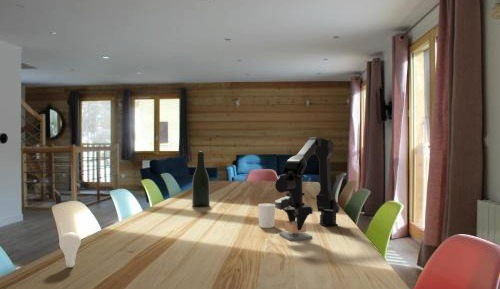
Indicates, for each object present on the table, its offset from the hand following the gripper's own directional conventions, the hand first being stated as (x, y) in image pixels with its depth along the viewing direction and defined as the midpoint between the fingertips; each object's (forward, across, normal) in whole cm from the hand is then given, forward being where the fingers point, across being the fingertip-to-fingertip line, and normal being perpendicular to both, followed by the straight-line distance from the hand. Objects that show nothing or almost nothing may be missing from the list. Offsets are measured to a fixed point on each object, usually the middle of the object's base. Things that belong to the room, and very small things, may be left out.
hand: (295, 228), depth 162 cm
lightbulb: (+4, +11, -83) cm, 84 cm away
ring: (+1, 0, 0) cm, 1 cm away
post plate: (+4, 0, 0) cm, 4 cm away
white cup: (+4, -22, -4) cm, 23 cm away
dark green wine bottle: (+4, -89, -20) cm, 91 cm away
